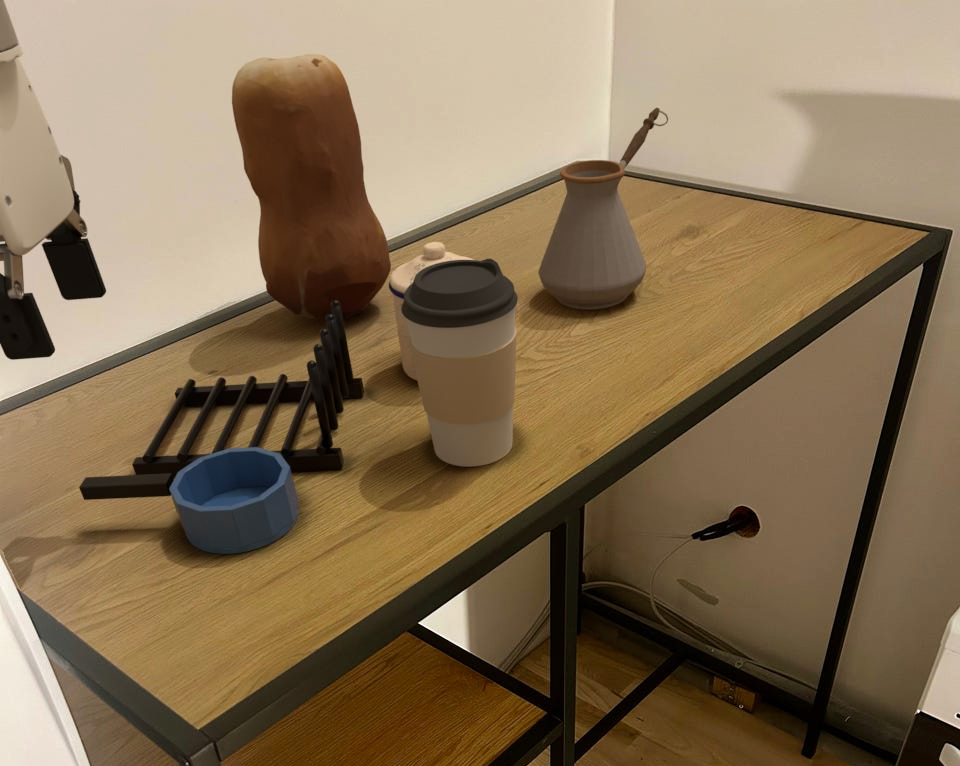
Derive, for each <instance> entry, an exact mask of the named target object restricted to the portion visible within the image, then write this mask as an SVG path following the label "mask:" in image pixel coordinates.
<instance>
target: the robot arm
mask: <svg viewBox="0 0 960 766" xmlns="http://www.w3.org/2000/svg"><path fill="white" fill-rule="evenodd" d="M22 56H23V50H22V47H21V44H20V42H19V39H18V35H17V32H16V31H15V28H14V25H13V22H12V20H11V17H10V13H9V10H8V7H7V5H6V3H5V0H0V262H3V274H2V273H1V272H0V347H1V349H2V351H3V354H4V355H5V357H6V358H7V359H9V360H11V361H12V360H13V361H15V360H28V359H40V358H43V359H44V358H51V357H52V355H54V354H55V352H56V347H55V345H54V342H53V340H52V337H51V335H50V332H49V330H48V327H47V325H46V323H45V320H44V318H43V315H42V313H41V310H40V308H39V305H38V303H37V301H36V298H35V296H34V293H33V292H25V283H24V281H25V280H24V263H23V256H24V255H27V254H28V253H30V252H31V251H32V250H33V249H35V248H36V247H37V246H38V245H40V243H41V247H42V249H43V252H44V254H45V257H46V259H47V262H48V266H49V267H50V270H51V272H52V275H53V278H54V281H55V283H56V285H57V288H58V290H59V294H60V295H61V298H63V299H64V300H66V301H76V300H88V299H99V298H100V299H101V298H103V297H104V296H105V294H106V293H107V288H106V286H105V282H104V280H103V277H102V275H101V271H100V269H99V266H98V263H97V260H96V257H95V255H94V252H93V249H92V247H91V246H92V245H91V243H90V241H89V238H88V237H87V235H88V227H87V224H86V221H85V220H84V218H83V217H81V199H80V195H79V194H78V193H77V191H76V187H75V181H74V175H73V168H72V163H71V161H70V159H69V158H68V157H67V156H64V155H62V154H61V153H60V150H59V148H58V145H57V142H56V140H55V136H54V135H53V132H52V130H51V128H50V124H49V123H48V120H47V117H46V115H45V113H44V110H43V107H42V105H41V103H40V101H39V99H38V96H37V94H36V91H35V90H34V87H33V85H32V82H31V81H30V78H29V77H28V74H27V72H26V70H25V68H24V66H23V63H22V62H21V60H20V57H22ZM44 240H47V241H44ZM43 241H44V242H43ZM3 242H4V243H3Z"/></svg>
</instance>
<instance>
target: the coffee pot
mask: <svg viewBox="0 0 960 766" xmlns="http://www.w3.org/2000/svg"><path fill="white" fill-rule="evenodd" d="M660 114H663V115H664V116H665V118H666V122H663V123H661V124H659V123H656V122H655V121H656V120H657V119H658V117H659V115H660ZM668 122H669V116H668V114H667V113H666V112H664V111H663V110H660V108H659V107H655V108H654V109H653V110H652V111H650V112H649V113H648V117H647V118H645V119H643V121H642V126H641V127H640V128H639V130H637V132H635V134H634V135H633V137H632V139H631V140H630V142H629V144H628V146H627V148H626V149H625V151H624V153H623V155H622V157H621V158H620V160H619V162H617V161H613V160H606V159H604V160H603V159H592V160H582V161H576V162H572V163H570V164H568V165H565V166H563V167H561V169H560V171H559V175H560V177H561V179H563V181H564V184H565V188H566V195H565V197H564V200H563V203H562V205H561V208H560V211H559V214H558V217H557V219H556V222H555V225H554V228H553V230H552V233H551V236H550V238H549V241H548V244H547V246H546V249H545V252H544V255H543V258H542V259H541V263H540V266H539V269H538V277H539V280H540V282H541V284H542V286H543V288H544V289H545V290H546V291H547V292H548V293H549V294H550V295H552V297H553V298H556V299H557V302H558V303H560V305H563V306H565V307H567V308H572V309H577V310H600V309H606V308H607V309H608V308H611V307H613V306H616V305H620V304H621V303H622V302H624V301H625V300H626V299H627V298H628V296H629V295H630V294H632V293H633V292H634V291H635V290H636V289H637V288H638V287H639V286H640V284H641V283H642V282H643V279H644V278H645V276H646V272H647V263H646V260H645V257H644V255H643V252H642V249H641V247H640V245H639V242H638V239H637V237H636V234H635V231H634V229H633V226H632V224H631V221H630V219H629V215H628V214H627V211H626V209H625V206H624V203H623V200H622V198H621V195H620V192H619V191H618V188H619V184H620V182H621V180H622V178H624V176H625V173H626V167H627V166H628V165H629V163H630V162H631V161H632V159H634V157H635V156H636V154H637V153H638V152H639V150H640V148H641V147H642V146H643V145H644V143H645V141H646V138H647V137H648V134H649V131H651V130H652V129H653V128H654V127H655V126H657V127H664V126H665V125H666V124H668Z"/></svg>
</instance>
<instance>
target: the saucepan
mask: <svg viewBox="0 0 960 766" xmlns="http://www.w3.org/2000/svg"><path fill="white" fill-rule="evenodd" d="M273 451H274V450H269V449H265V448H262V447H260V446H259V447H250V448H248V447H232V448H231V447H230V448H225V449H224V450H223V451H219V452H216V453H213V454H211V453H209V454H210V455H206V456H203V457H200V458H198V459H197V460H195V461H194V462H192V463H191V464H189V465H188V466H186V467H185V468H183V469H182V470H180V471H179V472H178V473H177V475H176V477H172V474H171V473H168V474H147V475H136V474H128V475H105V476H86V477H84V479H83V481H82V482H81V483H80V485H79V487H78V489H79V491H80V493H81V496H82V498H83V500H84V501H90V500H91V501H93V500H94V501H95V500H112V499H113V500H114V499H137V498H138V499H139V498H140V499H141V498H159V497H171V499H172V503H173V505H174V507H175V510H176V513H177V516H178V519H179V522H180V525H181V527H182V529H183V531H184V533H185V536H186V538H187V540H188V541H189V543H190V544H191V545H192V546H194V547H195V548H197V549H198V550H201V551H203V552H206V553H210V554H211V553H212V554H217V555H218V554H219V555H231V554H232V555H233V554H240V553H241V554H242V553H247V552H251V551H254V550H259V549H260V548H264V547H266V546H268V545H270V544H273V543H274V542H276V541H277V540H279V539H281V538H282V537H283V536H285V535H286V534H287V533H288V532H290V531H291V530H292V528H293V527H294V525H295V524H296V522H297V520H298V517H299V498H298V494H297V490H296V485H295V482H294V478H293V474H292V473H293V472H291V469H290V466H289V465H288V464H287V462H286V461H285V460H284V458H283V457H282V455H281V454H279V453H276V452H273Z"/></svg>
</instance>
